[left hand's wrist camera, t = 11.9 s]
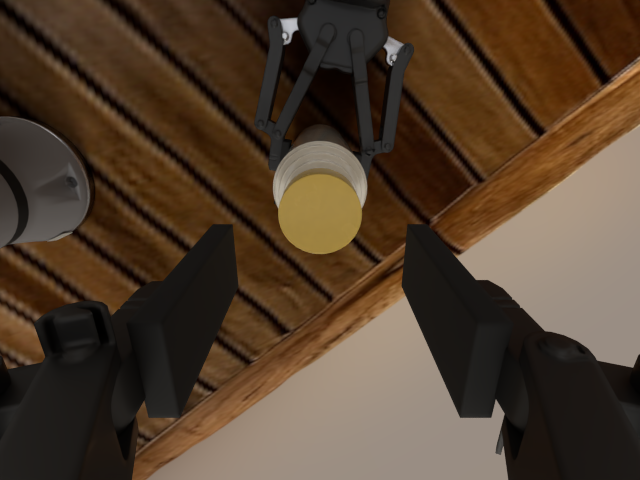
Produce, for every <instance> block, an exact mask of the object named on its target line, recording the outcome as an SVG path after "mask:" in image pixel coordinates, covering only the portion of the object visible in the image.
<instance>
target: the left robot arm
mask: <svg viewBox="0 0 640 480" xmlns="http://www.w3.org/2000/svg"><path fill="white" fill-rule="evenodd" d="M94 196H95V191H94V183H93V178H92V175H91V172H90V170H89V167H88V165H87V163H86V161H85V160H84V158H83V156H82V155H81V153H80V152H79V151H78V149H77V148H76V147H75V146H74V145H73V144H72V143H71V142H70V141H69V140H68V139H67V138H66V137H65V136H64V135H62V134H61V133H60V132H58V131H57V130H55V129H54V128H52V127H50V126H49V125H46V124H44V123H42V122H40V121H37V120H34V119H31V118H26V117H19V116H4V117H0V248H2V247H4V246H6V245H9V244H14V243H24V242H33V241H47V240H49V241H54V240H58V239H60V238H62V237H64V236H67V235H69V234H71V233H70V232H72V231H74V230H76V229H77V228H79V227H80V226H81V225H82V224H83V223H84V222H85V221H86V220H87V218H88V217H89V215H90V213H91V211H92V208H93V204H94ZM72 233H73V232H72ZM47 242H48V241H47ZM237 288H238V277H237V267H236V256H235V246H234V236H233V225H232V224H213V225H212V226H211V227H210V228H209V230H208V231H207V232H206V233H205V234H204V235H203V236H202V237H201V239H200V240H199V241H198V242H197V243H196V244H195V245H194V247H193V248H192V249H191V250H190V251H189V252H188V253H187V255H186V256H185V257H184V258H183V259H182V260H181V261H180V262H179V264H178V265H177V266H176V267H175V268H174V269H173V270H172V272H171V273H170V274H169V275H168V276H167V277H166V278H165V280H164V281H152V282H150V283H148V284H147V285H145V286H143V287H141V288H139V289H138V290H137V291H136V292H135V293H134V294H133V295H132V296H131V297H130V298H129V299H128V301H126V302H125V303H124V304H123V305H122V306H121V307H120V309H118V310H117V311H116V312H115V313H114V314H113V315H112V316H111V317H110V314H109V310H108V306H107V305H105V304H104V303H102V302H97V301H82V302H76V303H72V304H68V305H65V306H62V307H59V308H57V309H54V310H52V311H50V312H48V313H47V314H45V315H43V316H41V317H40V318H39V319H38V320H37V321H36V322H35V323H34V326H35V329H36V332H37V334H38V337H39V340H40V343H41V346H42V349H43V351H44V354H45V359H44V361H43V362H42V363H37V364H32V365H27V366H22V367H17V368H12V369H7V367H6V365H5V362H4V360H3V358H2V356H0V480H132V474H133V467H134V459H135V452H136V445H137V438H138V423H137V419H136V413H137V412H138V410H139V408H140V407H141V405H142V403H143V401H144V400H145V404H146V408H147V412H148V417H149V418H180V416H181V414H182V412H183V409H184V407H185V405H186V403H187V400H188V398H189V396H190V394H191V391H192V389H193V387H194V385H195V382H196V380H197V378H198V376H199V373H200V371H201V369H202V367H203V364H204V362H205V360H206V358H207V356H208V353H209V351H210V349H211V347H212V344H213V342H214V340H215V338H216V335H217V333H218V331H219V329H220V326H221V324H222V322H223V320H224V317H225V315H226V313H227V311H228V308H229V306H230V304H231V302H232V299H233V297H234V295H235V293H236V290H237ZM402 288H403V290H404V293H405V295H406V297H407V299H408V302H409V304H410V306H411V308H412V311H413V313H414V315H415V317H416V320H417V322H418V324H419V326H420V329H421V331H422V333H423V335H424V338H425V340H426V342H427V344H428V346H429V349H430V351H431V353H432V356H433V358H434V360H435V362H436V365H437V367H438V369H439V371H440V373H441V376H442V378H443V380H444V382H445V385H446V387H447V389H448V391H449V394H450V396H451V398H452V400H453V403H454V405H455V407H456V409H457V412H458V414H459V416H460V418H491V416H492V412H493V408H494V404H495V400H497V401H498V403H499V405H500V406H501V408H502V410H503V411H504V413H505V415H504V419H503V423H502V427H501V431H500V435H499V439H498V442H497V447H496V454H501V452H502V448H503V446H504V451H505V458H506V465H507V473H508V480H640V355H638V358H637V360H636V363H635V365H634V367H633V368H631V367H626V366H621V365H616V364H611V363H606V362H601V361H597V360H596V358H595V356H594V355H593V354H592V353H591V352H590V350H589V349H588V348H586V347H585V346H583V345H582V344H580V343H579V342H577V341H576V340H573V339H571V338H569V337H566V336H564V335H560V334H557V333H553V332H546V331H544V330H543V329H542V328H541V327H540V326H539V325H538V324H537V323H536V322H535V321H534V320H533V319H532V318H531V317H530V316H529V315H528V314H527V313H526V312H525V311H524V310H523V309H522V308H520V306H519V304H517V302H516V301H515V300H512V297H511V296H510V295H509V294H508V293H507V292H506V291H505V290H504V289H503V288H501V287H499V286H498V285H496V284H494V283H492V282H490V281H489V280H475V278H474V277H473V276H472V275H471V274H470V273H469V272H468V270H467V269H466V268H465V267H464V266H463V265H462V264H461V262H460V261H459V260H458V259H457V258H456V257H455V256H454V255H453V253H452V252H451V251H450V250H449V249H448V248H447V247H446V245H445V244H444V243H443V242H442V241H441V240H440V239H439V237H438V236H437V235H436V234H435V233H434V232H433V231H432V230H431V228H430V227H429V226H428V225H427V224H408V225H407V236H406V246H405V256H404V267H403V277H402Z"/></svg>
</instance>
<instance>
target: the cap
mask: <svg viewBox="0 0 640 480" xmlns="http://www.w3.org/2000/svg"><path fill="white" fill-rule="evenodd" d="M278 218H279V224H280V227H281V229H282V231H283V233H284V235H285V236H286V238H287V239H288V240H289V241H290V242H291V243H292V244H293V245H295V246H296V247H297V248H299V249H301V250H303V251H306V252H309V253H315V254H326V253H331V252H334V251H337V250H339V249H341V248H343V247H344V246H346V245H347V244H348V243H349V242H350V241H351V240H352V239H353V238H354V237H355V235H356V234H357V232H358V230H359V227H360V224H361V219H362V208H361V204H360V201H359V198H358V195H357V193H356V191H355V189H354V187H353V185H352V184H351V182H350V181H349V180H348V179H347V178H346V177H345V176H343V175H342V174H340V173H339V172H337V171H334V170H331V169H327V168H313V169H309V170H306V171H303V172H302V173H300V174H298V175H297V176H295V177H294V178H293V179H292V180H291V181H290V183H289V184H288V185H287V187H286V189H285V191H284V193H283V196H282V198H281V201H280V204H279V210H278Z"/></svg>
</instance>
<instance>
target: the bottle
mask: <svg viewBox="0 0 640 480" xmlns="http://www.w3.org/2000/svg"><path fill="white" fill-rule="evenodd" d="M313 168H327V169H331V170H334V171H337V172H339V173H340V174H342V175H343V176H345V177H346V178H347V179H348V180H349V181H350V182H351V184H352V185H353V187H354V189H355V191H356V193H357V195H358V198H359V201H360V204H361V208H362V207H363V205H364V202H365V199H366V195H367V180H366V175H365V172H364V169H363V167H362V165H361V164H360V162H359V161H358V159H357V158H356V156H355V155H354V153H353V152H352V150H351V149H350V147H349V146H348V144H347V143H346V141H345V140H344V138H343V137H342V135H341V134H340V133H339V132H338V131H337V130H336V129H334V128H333V127H331V126H328V125H324V124H316V125H312V126H309V127H307V128H306V129H304V130H303V131H302V132H301V133H300V134H299V135H298V137H297V138H296V140H295V141H294V143H293V144H292V146H291V147H290V149H289V150H288V152H287V153H286V155H285V156H284V158H283V159H282V161H281V162H280V164H279V166H278V167H277V170H276V172H275V176H274V180H273V194H274V199H275V202H276V205H277V207H278V209H279V204H280V201H281V198H282V196H283V193H284V191H285V189H286V187H287V185H288V184H289V183H290V181H291V180H292V179H293V178H294V177H295V176H297V175H298V174H300V173H302V172H303V171H306V170H309V169H313Z"/></svg>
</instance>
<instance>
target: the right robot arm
mask: <svg viewBox="0 0 640 480" xmlns="http://www.w3.org/2000/svg"><path fill="white" fill-rule="evenodd" d="M389 3H390V0H305V4H304V7H303V9H302V10H301V12H300V13H299V15H298V18H287V19H279V18H278V17H277V16H271V17H270V18H269V20H268V31H269V40H270V48H269V53H268V58H267V63H266V68H265V72H264V77H263V82H262V87H261V92H260V97H259V102H258V107H257V112H256V117H255V127H256V128H257V129H260V130H262V131H264V132H266V133H267V134H268V135H269V136H270V137H271V148H270V156H269V164H268V165H269V169H270V170H274V171H276V170H277V167H278V166H279V164H280V162H281V161H282V159H283V158H284V156H285V155H286V153H287V152H288V150H289V149H290V147H291V142H292V140H288V139H285V135H286V132H287V130H288V128H289V126H290V125H291V123H292V121H293V119H294V117H295V115H296V113H297V111H298V109H299V107H300V105H301V103H302V101H303V99H304V97H305V95H306V93H307V91H308V89H309V87H310V85H311V83H312V81H313V79H314V78H315V76H316V74H317V72H318V70H319V68H320V69H322V70H337V71H339V72H341V73H343V74H348V75H351V81H352V86H353V93H354V101H355V109H356V117H357V125H358V133H359V141H360V152H355V151H352V152H353V153H354V155H355V156H356V158H357V159H358V161H359V162H360V164H361V165H362V167H363V169H364V172H365V175H366V180H367V178H368V174H369V170H370V165H371V161H372V158H373V156H374V155H376V154H378V153H383V152H390V151H392V149H393V147H394V140H395V133H396V126H397V119H398V112H399V105H400V98H401V91H402V84H403V77H404V71H405V69H406V67H407V65H408V63H409V61H410V59H411V57H412V55H413V52H414V47H413V45H412V44H411V43H405V44H402V43H401V42H399V41H397V40H395V39H393V38H391V37H389V36H388V29H387V23H386V19H387V13H388V8H389ZM296 32H300V35H301V37H302V39H303V41H304V44H305V46H306V48H307V50H308V53H309V56H308V58H307V60H306V62H305V64H304V66H303V69H302V71H301V73H300V75H299V77H298V79H297V82H296V84H295V86H294V88H293V90H292V92H291V94H290V96H289V98H288V100H287V102H286V104H285V106H284V108H283V110H282V112H281V114H280V116H279V118H278V120H277V122H276V123H275V122H274V121H272V120H271V116H272V111H273V107H274V102H275V97H276V93H277V88H278V84H279V79H280V75H281V70H282V65H283V61H284V56H285V46H288V45H290V44H291V43H292V39H293V35H294V34H295V33H296ZM381 49H383V50H384V51H385V53H386V57H385V63H386V64H387V65H388V66H389V69H388V72H387V77H386V84H385V92H384V100H383V108H382V116H381V124H380V131H379V139H378V140H374V138H373V129H372V120H371V111H370V102H369V93H368V83H367V82H368V78H367V68H366V64H367V63H368V62H369V61H370V60H371V59H372V58H373V57H374V56H375V55H376V54H377V53H378V52H379V51H380V50H381ZM274 204H276V202H275V201H274Z"/></svg>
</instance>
